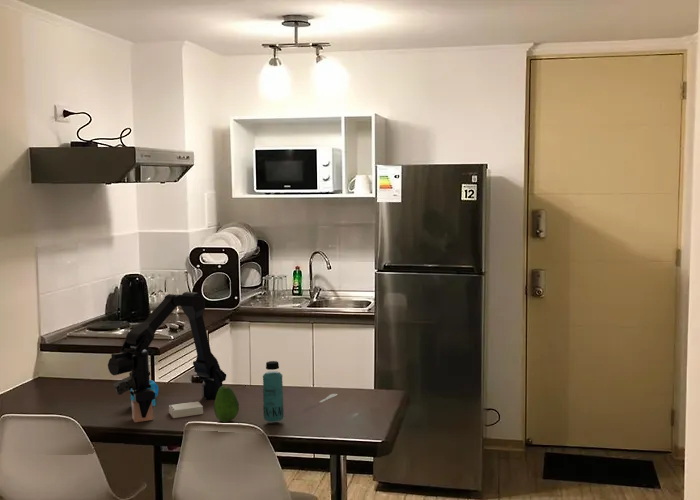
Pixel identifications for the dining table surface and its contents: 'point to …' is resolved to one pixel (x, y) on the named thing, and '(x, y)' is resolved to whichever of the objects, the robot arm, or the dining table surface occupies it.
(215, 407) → the avocado
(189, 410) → the slab
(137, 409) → the tan cube
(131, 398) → the mug
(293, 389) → the dining table surface
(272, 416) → the beverage bottle
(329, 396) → the butter knife
